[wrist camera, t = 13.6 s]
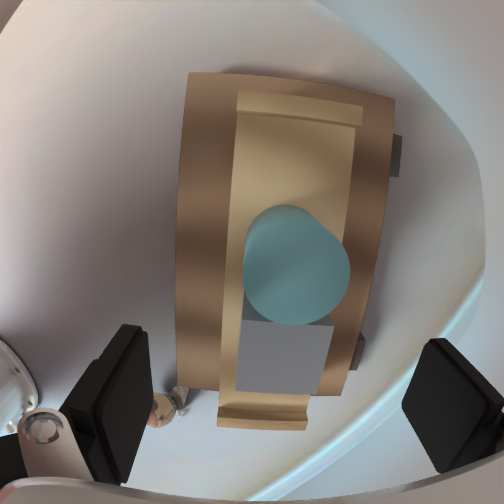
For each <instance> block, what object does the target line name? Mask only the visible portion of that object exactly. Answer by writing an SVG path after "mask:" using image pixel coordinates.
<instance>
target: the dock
mask: <svg viewBox="0 0 504 504" xmlns="http://www.w3.org/2000/svg"><path fill="white" fill-rule="evenodd" d="M238 90H243V91H257V92H268V93H278V94H286V95H295V96H302V97H309V98H316V99H322V100H328V101H334V102H340V103H345V104H350V105H355V106H360V107H363V115H362V126H361V127H358V128H355V139H354V151H353V161H352V171H351V180H350V189H349V197H348V205H347V213H346V220H345V227H344V234H343V240H342V245H343V247H344V249H345V251H346V253H347V255H348V259H349V264H350V279H349V284H348V287H347V290H346V292H345V295H344V296H343V298H342V300H341V301H340V302H339V304H338V305H337V306H336V307H335V308H334V309H333V310H332V311H331V312H330V313H329V316H330V318H331V320H332V322H333V324H334V330H333V334H332V338H331V342H330V346H329V350H328V354H327V358H326V361H325V365H324V369H323V372H322V376H321V379H320V383H319V386H318V390H317V393H316V395H310V396H341V393H342V390H343V387H344V383H345V380H346V377H347V374H348V371H349V370H357V368H358V365H359V362H360V359H361V355H362V352H363V349H364V345H365V342H366V341H365V339H364V337H363V335H362V334H361V332H360V328H361V324H362V321H363V317H364V313H365V308H366V304H367V300H368V296H369V291H370V287H371V282H372V278H373V273H374V268H375V263H376V258H377V252H378V247H379V241H380V236H381V230H382V224H383V217H384V210H385V204H386V196H387V188H388V180H389V176H393V177H398V176H399V167H400V157H401V146H402V136H399V135H395V134H393V125H394V106H395V99H392V98H388V97H384V96H380V95H376V94H372V93H368V92H363V91H359V90H354V89H349V88H345V87H339V86H334V85H328V84H323V83H317V82H310V81H303V80H296V79H288V78H280V77H270V76H260V75H247V74H230V73H189V75H188V82H187V91H186V99H185V108H184V118H183V128H182V139H181V151H180V164H179V179H178V196H177V217H176V249H175V328H176V359H177V380H178V386H180V387H187V388H194V389H203V390H212V391H219V382H220V359H221V338H222V318H223V300H224V283H225V267H226V252H227V237H228V223H229V209H230V196H231V183H232V171H233V159H234V147H235V136H236V125H237V114H238V113H237V100H238Z"/></svg>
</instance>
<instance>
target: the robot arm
mask: <svg viewBox="0 0 504 504" xmlns="http://www.w3.org/2000/svg"><path fill="white" fill-rule="evenodd" d="M153 401H154V395H153V386H152V377H151V368H150V357H149V345H148V334H147V332H145V331H142V328H141V326H135V325H128V324H123V325H122V326H121V327H120V329H119V330H118V332H117V333H116V334H115V336H114V337H113V339H112V340H111V341H110V343H109V344H108V346H107V347H106V348H105V350H104V351H103V353H102V354H101V356H100V357H99V358H98V359H95V360H93V361H92V362H91V364H90V365H89V366H88V368H87V369H86V371H85V372H84V374H83V375H82V376H81V378H80V379H79V381H78V382H77V384H76V385H75V387H74V388H73V390H72V391H71V392H70V394H69V395H68V397H67V398H66V400H65V401H64V403H63V404H62V406H61V407H60V409H59V410H58V411H57V410H54V409H51V408H37V409H35V407H36V406H37V404H38V393H37V389H36V386H35V384H34V381H33V379H32V377H31V375H30V374H29V372H28V370H27V369H26V367H25V366H24V364H23V363H22V361H21V360H20V359H19V358H18V356H17V355H16V354H15V353H14V352H13V351H12V350H11V349H10V348H9V347H8V346H7V345H6V344H5V343H4V342H3V341H2V340H0V434H1V432H2V431H3V430H4V429H5V431H6V432H7V433H12V432H14V431H16V432H17V433H14V434H10V435H6V436H2V437H0V504H504V413H503V412H502V411H501V410H502V408H503V407H504V398H503V397H502V396H501V394H500V393H498V391H497V390H496V389H495V388H494V387H493V386H492V385H491V384H490V383H489V382H488V381H487V380H486V379H485V377H484V376H483V375H482V374H481V373H480V372H479V371H478V370H477V369H476V368H475V367H474V366H473V365H472V364H471V363H470V362H469V361H468V360H467V359H466V358H465V357H464V356H463V355H462V354H461V353H460V352H459V351H458V350H457V349H456V348H455V347H454V346H453V345H452V344H451V343H450V342H449V341H448V340H447V339H445V338H434V339H430V340H429V341H428V343H426V344H425V345H424V348H423V350H422V353H421V356H420V359H419V361H418V364H417V366H416V369H415V372H414V374H413V377H412V379H411V381H410V384H409V386H408V389H407V391H406V393H405V395H404V398H403V400H402V410H403V412H404V413H405V415H406V417H407V418H408V420H409V422H410V424H411V425H412V427H413V429H414V431H415V432H416V434H417V436H418V438H419V440H420V441H421V443H422V445H423V447H424V449H425V450H426V452H427V454H428V456H429V458H430V460H431V462H432V463H433V465H434V467H435V469H436V471H437V472H438V473H441V474H439V475H436V476H433V477H430V478H426V479H423V480H419V481H415V482H412V483H408V484H404V485H400V486H395V487H391V488H387V489H382V490H377V491H371V492H366V493H360V494H354V495H347V496H340V497H332V498H322V499H311V500H296V501H228V500H214V499H202V498H192V497H183V496H176V495H168V494H162V493H156V492H150V491H145V490H139V489H133V488H128V487H122V486H120V485H121V483H127V481H128V478H129V475H130V472H131V469H132V466H133V463H134V460H135V456H136V453H137V450H138V447H139V444H140V441H141V438H142V435H143V432H144V430H145V427H146V424H147V421H148V418H149V415H150V412H151V409H152V406H153ZM22 413H26V414H24V415H23V416H22V418H21V419H20V420H18V418H19V417H20V415H21V414H22Z"/></svg>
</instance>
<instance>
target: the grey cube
mask: <svg viewBox="0 0 504 504" xmlns="http://www.w3.org/2000/svg"><path fill="white" fill-rule="evenodd" d="M333 330H334V324H333V322H332V320H331V318H330V316H329V314H327V315H326V316H324V317H323V318H321V319H319V320H317V321H314V322H311V323H308V324H303V325H284V324H279V323H276V322H273V321H271V320H269V319H267V318H265V317H264V316H262V315H261V314H260V313H259V312H258V311H256V310H255V309H254V307H253V306H252V305H251V303H250V302H249V300H248V298H247V296H246V294H245V291H244V294H243V304H242V314H241V324H240V334H239V344H238V356H237V368H236V381H235V391H244V392H257V393H274V394H299V395H316V393H317V390H318V386H319V383H320V379H321V376H322V372H323V369H324V365H325V361H326V358H327V354H328V350H329V346H330V342H331V338H332V334H333Z"/></svg>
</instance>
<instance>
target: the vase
mask: <svg viewBox="0 0 504 504" xmlns="http://www.w3.org/2000/svg"><path fill="white" fill-rule="evenodd" d="M168 378H169V377H168ZM177 384H178V383H177ZM188 391H189V388H187V387H180V386H177V385H176V387H174V386H173V390H172V391H170V392H169V395H167V394H163V393H153V395H154V401H153V406H152V409H151V412H150V415H149V418H148V421H147V425H149V426H151V427H155V428H159V427H163V426H165V425H167V424H168V423H170V422H171V421H172V419H173V418H174V415H175V413H176V411H177V413H178V416H179V421H180V417H181V414H180V411H183V408H184V404H185V401H186V398H187V394H188ZM179 410H180V411H179Z"/></svg>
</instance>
